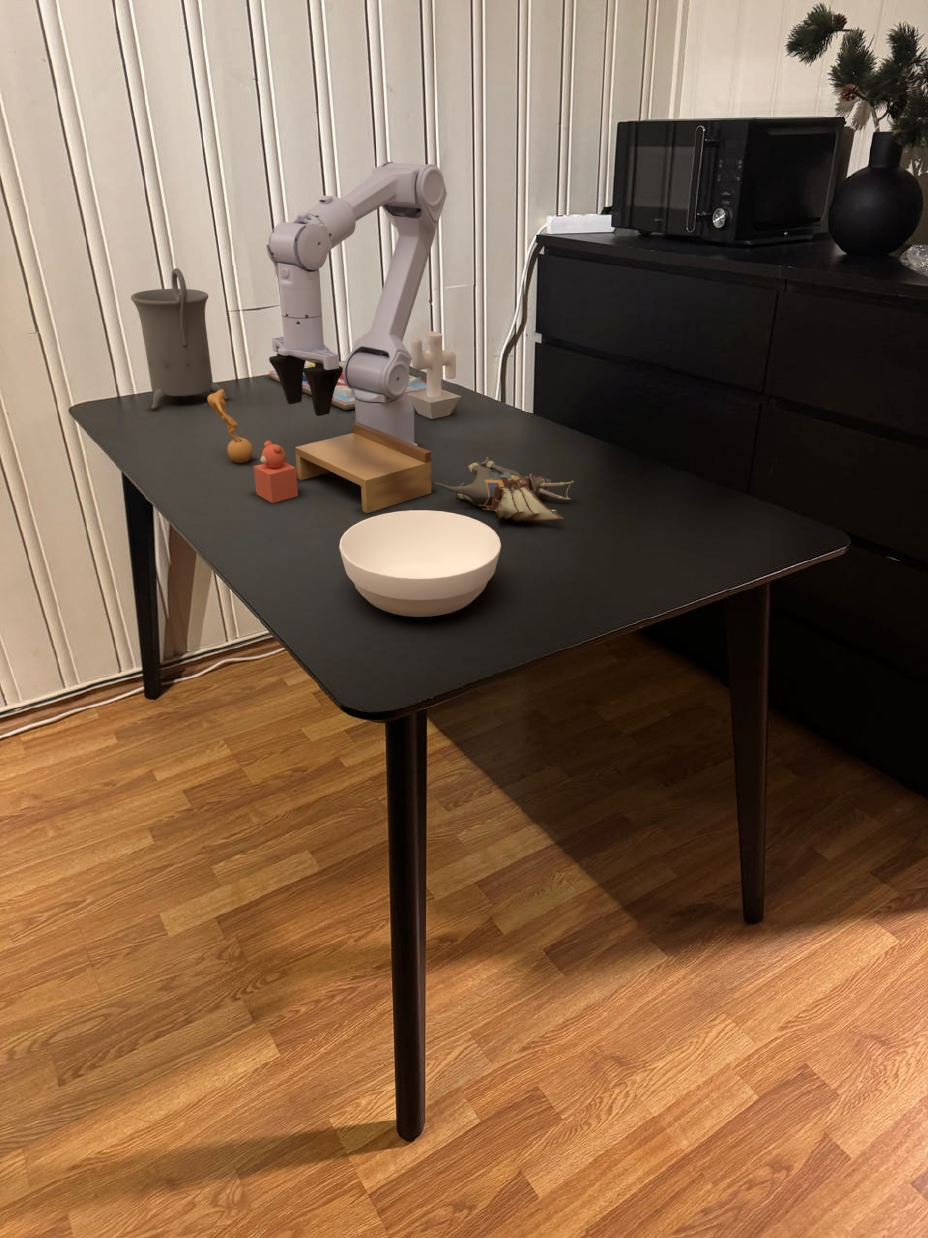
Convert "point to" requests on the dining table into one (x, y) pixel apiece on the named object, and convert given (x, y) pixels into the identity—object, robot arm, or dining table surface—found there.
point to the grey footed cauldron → (175, 340)
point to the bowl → (420, 561)
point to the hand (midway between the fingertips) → (308, 408)
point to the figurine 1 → (231, 430)
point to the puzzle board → (343, 392)
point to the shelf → (370, 465)
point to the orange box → (275, 475)
